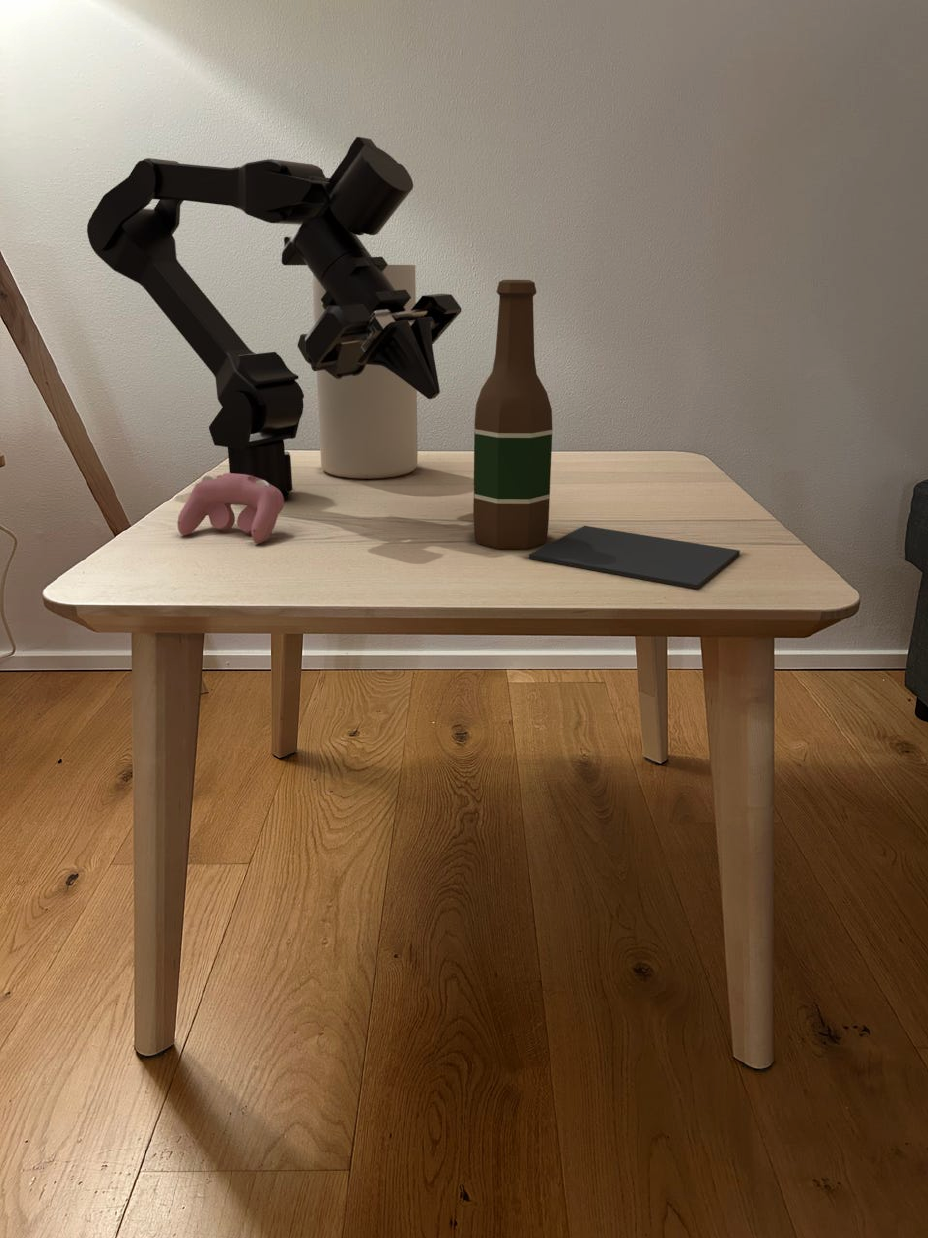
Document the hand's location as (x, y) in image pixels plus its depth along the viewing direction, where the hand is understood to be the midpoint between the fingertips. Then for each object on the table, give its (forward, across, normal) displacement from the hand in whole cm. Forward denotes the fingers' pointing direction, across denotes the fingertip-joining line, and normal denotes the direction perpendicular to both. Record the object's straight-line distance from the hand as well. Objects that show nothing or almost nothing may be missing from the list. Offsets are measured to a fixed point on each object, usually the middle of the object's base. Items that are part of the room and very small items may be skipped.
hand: (435, 396), depth 92 cm
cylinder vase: (-6, -17, -27) cm, 32 cm away
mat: (+24, -2, +7) cm, 25 cm away
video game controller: (0, +14, -20) cm, 24 cm away
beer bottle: (+16, 0, -3) cm, 16 cm away
